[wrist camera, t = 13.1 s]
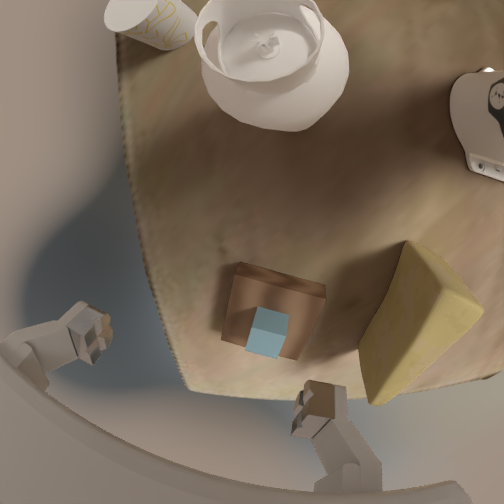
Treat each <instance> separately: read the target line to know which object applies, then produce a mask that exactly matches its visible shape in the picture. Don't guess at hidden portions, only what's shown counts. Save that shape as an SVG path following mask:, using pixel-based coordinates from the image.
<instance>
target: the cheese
mask: <svg viewBox="0 0 504 504" xmlns="http://www.w3.org/2000/svg"><path fill="white" fill-rule="evenodd" d="M483 311H484V310H483V308H482V306H481V305H480V303H479V302H478V300H477V299H476V298H475V296H474V295H473V294H472V292H471V291H470V290H469V289H468V287H467V286H466V285H465V284H464V282H463V281H462V280H461V279H460V277H459V276H458V275H457V274H456V273H455V272H454V270H453V269H452V268H451V267H450V266H449V265H448V263H447V262H446V261H445V260H444V259H443V258H441V257H440V256H438V255H436V254H435V253H433V252H431V251H429V250H428V249H426V248H424V247H422V246H420V245H419V244H417V243H415V242H412V241H406V242H405V244H404V246H403V249H402V252H401V255H400V258H399V262H398V265H397V267H396V270H395V273H394V276H393V279H392V281H391V284H390V287H389V289H388V291H387V294H386V296H385V298H384V300H383V302H382V304H381V305H380V307H379V309H378V310H377V312H376V314H375V315H374V317H373V318H372V320H371V322H370V324H369V325H368V327H367V329H366V331H365V333H364V335H363V336H362V338H361V340H360V342H359V344H358V350H359V359H360V367H361V372H362V377H363V381H364V385H365V389H366V394H367V399H368V403H369V404H371V405H375V406H380V405H383V404H385V403H386V402H388V401H389V400H391V399H392V398H393V397H394V396H396V395H397V394H398V393H399V392H400V391H401V390H403V389H404V388H405V387H406V386H407V385H408V384H410V383H411V382H412V381H413V380H414V379H415V378H416V377H418V376H419V375H420V374H421V373H422V372H423V371H424V370H425V369H426V368H428V367H429V366H430V365H431V364H432V363H433V362H434V361H435V360H436V359H437V358H438V357H439V356H441V355H442V354H443V353H444V352H445V351H446V350H447V349H448V348H449V347H450V346H452V345H453V344H454V343H455V342H456V341H457V340H458V339H459V338H460V337H461V336H463V335H464V334H465V333H466V332H467V331H468V330H469V329H470V328H471V327H472V326H473V325H474V324H475V323H476V321H477V320H478V319H479V318H480V317H481V316H482V314H483Z"/></svg>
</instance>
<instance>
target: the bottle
mask: <svg viewBox="0 0 504 504" xmlns="http://www.w3.org/2000/svg"><path fill="white" fill-rule="evenodd" d="M301 4H305V5H308V6H309V7H310V8H312V9H313V11H314V12H313V11H312V10H310V9H308V8H306V7H304V6H302V5H301ZM210 21H216V22H217V26H216V27H215V28H214V30H213V31H212V32H211V33H210V35H209V36H208V39H207V42H206V45H205V47H204V48H203V45H202V30H203V28H204V26H205V25H206V24H207V23H208V22H210ZM195 44H196V47H197V49H198V52H199V54H200V56H201V58H202V77H203V80H204V83H205V85H206V88H207V91H208V93H209V95H210V96H211V97H212V99H213V100H214V101H215V102H216V103H217V105H218V106H219V107H220V108H221V109H222V110H223V111H224V112H226V113H227V114H229V115H231V116H232V117H234V118H235V119H237V120H238V121H240V122H243V123H246V124H250V125H253V126H257V127H260V128H264V129H272V130H280V131H289V132H298V131H302V130H305V129H307V128H309V127H310V126H312V125H314V124H315V123H316V122H317V121H318V120H319V119H320V118H321V117H322V116H323V115H324V114H325V113H326V112H327V111H328V110H329V109H330V108H331V107H332V106H333V104H334V103H335V102H336V101H337V99H338V98H339V97H340V96H341V95H342V93H343V91H344V88H345V85H346V82H347V79H348V76H349V60H348V52H347V49H346V47H345V45H344V43H343V40H342V38H341V36H340V34H339V33H338V32H337V31H336V29H335V28H334V27H333V26H332V25H331V24H330V23H329V22H328V21H327V20H326V19H325V18H324V17H323V16H322V14H321V13H320V11H319V9H318V7H317V5H316V3H315V2H314V1H313V0H210V1H209V2H208V3H207V4H206V5H205V6H204V8H203V9H202V10H201V12H200V14H199V17H198V19H197V22H196V24H195Z"/></svg>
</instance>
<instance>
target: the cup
mask: <svg viewBox="0 0 504 504" xmlns="http://www.w3.org/2000/svg"><path fill="white" fill-rule="evenodd" d="M197 19H198V18H197V15H196V14H195V13H194V12H193V11H192V10H191V9H190V8H189V7H187V6H186V5H185V4H184V3H183V2H182V1H180V0H111V1H110V2H109V4H108V6H107V8H106V11H105V14H104V21H105V25H106V26H107V28H108V29H110V30H112V31H114V32H117V33H120V34H123V35H125V36H128V37H131V38H133V39H136V40H139V41H141V42H144V43H146V44H148V45H151V46H153V47H156V48H158V49H160V50H165V51H169V50H174V49H177V48H180V47H182V46H183V45H185V44H186V43H187V42H189V41H190V40H191V39H192V37H193V36H194V34H195V24H196V22H197Z"/></svg>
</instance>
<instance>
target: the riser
mask: <svg viewBox="0 0 504 504" xmlns="http://www.w3.org/2000/svg"><path fill="white" fill-rule="evenodd" d="M325 302H326V288H325V285H323V284H319V283H315V282H312V281H308V280H304V279H301V278H297V277H293V276H290V275H286V274H282V273H279V272H275V271H272V270H268V269H265V268H261V267H257V266H254V265H250V264H247V263H243V262H240V264H239V266H238V268H237V270H236V272H235V274H234V279H233V283H232V288H231V293H230V298H229V303H228V307H227V312H226V317H225V322H224V327H223V332H222V337H221V340H223V341H226V342H230V343H233V344H236V345H240V346H243V347H246V345H247V341H248V338H249V334H250V331H251V328H252V324H253V321H254V317H255V314H256V311H257V307H262V308H266V309H269V310H273V311H276V312H280V313H284V314H288V315H289V319H288V327H287V335H286V338H285V341H284V343H283V346H282V348H281V350H280V353H279V355H278V356H281V357H285V358H289V359H293V360H298V358H299V357H300V355H301V353H302V351H303V349H304V347H305V344H306V342H307V340H308V338H309V336H310V334H311V332H312V330H313V328H314V326H315V324H316V321H317V319H318V317H319V315H320V313H321V311H322V308H323V306H324V304H325Z"/></svg>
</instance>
